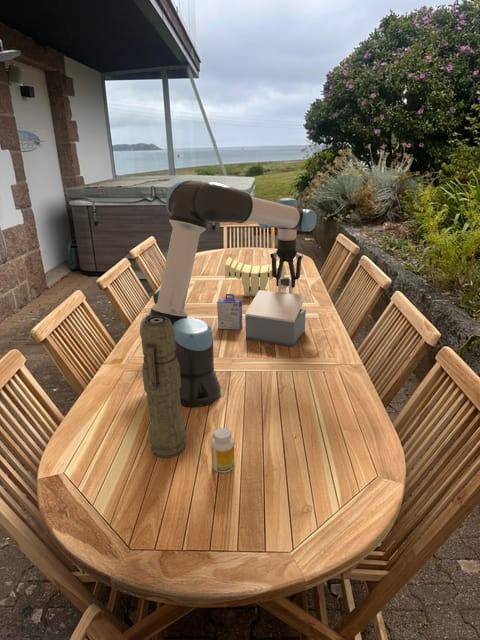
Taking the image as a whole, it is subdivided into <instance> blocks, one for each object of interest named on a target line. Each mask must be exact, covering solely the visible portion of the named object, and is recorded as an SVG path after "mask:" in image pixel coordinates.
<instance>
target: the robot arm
mask: <svg viewBox="0 0 480 640" xmlns="http://www.w3.org/2000/svg"><path fill="white" fill-rule="evenodd" d="M165 197H166V198H165V208H167V209H166V210H167V212H168V214H169V219H168V221H169V223H170V225H171V227H172V231H171V234H170V240H169V244H168V248H167V249H168V250H167V254H166V259H165V264H164V270H163V274H162V279H161V283H160V288H159V290H160V292H159V297H158V302H157V304H155V303H154V305H152V306H151V307H150V312H148V313H147V314H146V315H145V316H144V317H143V318H142V320H141V322H140V325H139V336H140V337H141V329H142V325H143V322H144V321H145V320H146V319H148V318H150V317H154V316H163V317H166V318H168V319H170V321H171V324H172V326H173V328H174V333H175V346H176V351H175V353H176V358H177V361H178V363H179V366H180V377H181V387H180V402H181V406H182V407H183V406H184V407H189V408H196V407H197V408H198V407H203V406H206V405H207V406H208V405H210V404H213V403H214V402H216V401H217V400H218V399H219V398H220V396H221V383H220V382H219V378H218V377H217V374H216V371H215V366H214V365H215V362H214V361H215V359H214V358H215V357H214V335H213V330H212V326H211V325H210V324H209V323H207V322H206V321H204V320H203V319H200V318H199V319H198V318H196V317H195V318H191V317H188V313H187V311H186V310H185V308H186V307H185V306H186V302H187V298H188V297H187V296H188V292H189V287H190V283H191V278H192V273H193V269H194V265H195V264H194V263H195V259H196V254H197V250H198V246H199V240H200V235H201V234H202V233H203V232H206V230H207V226H208V223H213V224H215V223H216V224H218V223H220V224H223V223H228V224H229V223H231V224H244V223H246V222H248V223H253V224H257V225H258V226H259V227H260V228H262V229H270V228H277V245H276V246H277V247H276V249H277V250H276V252H271V253H270V255H269V256H270V259H271V263H272V277H273V278H274V279H276V280H275V281H276V284H275V285H276V287H278V288H277V289H278V292H280V290H281V288H282V286H283V285H282V284H281V280H282V278H281V273H282V269H283V264H284V262H285V263H287V264H288V268H289V273H290V281H289V286H288V294H294V288H295V287H296V280H299V279H300V278H301V270H302V269H301V268H302V260H303V258H304V255H303V254H299V253H298V252H297V231H299V232H311V231H313V230H314V228H315V227H316V225H317V219H318V218H317V217H318V216H317V213H316V212H315V211H314V210H312V209H309V208H300V207H298V200H297V199H295V198H292V197H291V198H280V199H278V202H275V201H272V200H266V199H263V198H259V197H256V196H252V195H251V194H250V193H249V192H248V191H245V190H242V189H238V188H235V187H232V186H229V185H227V184H225V183H224V184H223V183H220V182H216V181H201V180H180V181H178V182H176V183H174V184H173V185H172V186H171V187H169V190H168V191H167V194H166V196H165ZM277 258H279V259H278V261H279V260H280V261H279V267H278V271H277V266H276V262H277ZM295 258H296V266H295V265H294V259H295Z"/></svg>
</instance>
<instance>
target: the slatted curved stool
mask: <svg viewBox="0 0 480 640" xmlns="http://www.w3.org/2000/svg"><path fill="white" fill-rule="evenodd" d="M279 261H280V259H278V260H276V266H277V271H278V267H279ZM285 264H286V261H285V262H284V264H283V269H282V273H281V277H280V278H282V279H283V278H285V274H286V273H285V267H286V265H285ZM224 278H225V279H229V278H231V279H232V278H233V279H234V278H236V279H237V280H238V281H240V280H241V284H242V287H243V293H242V297H255V296H256V294H257V293H258V291H259V290H262V291H270V290H269V288H268V286H267V285H268V282H269V281H271V280H273V279H274V277H272V262H271V263H270V264H269V263H267V264H263V265H253V266H252V265H251V264H246V263H243V262H240V261H238V260H236V259H234V260H233V258H232V257H230V256H228V258H227V260H226V261H225V265H224Z"/></svg>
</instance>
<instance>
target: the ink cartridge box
mask: <svg viewBox="0 0 480 640" xmlns="http://www.w3.org/2000/svg"><path fill="white" fill-rule="evenodd" d="M216 308H217V329H222V330H224V329H225V330H235V331H236V330H237V331H239V330H241V329H242V328H243V299H241V298H237V299H236V298H235V294H233V293H226V294H225V298H219V299H218V301H216Z"/></svg>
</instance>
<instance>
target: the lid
mask: <svg viewBox="0 0 480 640" xmlns="http://www.w3.org/2000/svg"><path fill="white" fill-rule="evenodd" d="M290 280H291V278H289V277H286V276H284V278H283V279H282V280H281V284H282V288H281V290H280V292H277V291H270V290H269V291H262V290H259V291H258V293H257V294H256V296H254V298H253V300H252V301H251V303H250V304H249V306H248V308H247V309H246V312H245V313H244V315H245V316H252V317H259V318H266V319H273V320H280V321H287V322H295V320H296V318H297V316H298V313H299V311H300V309H301V308H302V307H303V305H304V302H305V300H306V296H307V295H305V294H295V293H293V294H289V292H288V293H287V292H286V290H287V288H289V281H290Z"/></svg>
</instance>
